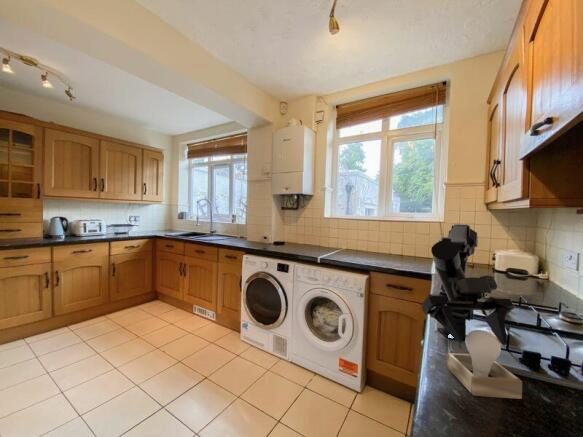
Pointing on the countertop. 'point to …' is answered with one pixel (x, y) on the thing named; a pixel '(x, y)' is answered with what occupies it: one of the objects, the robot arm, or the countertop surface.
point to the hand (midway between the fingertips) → (483, 343)
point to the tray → (484, 378)
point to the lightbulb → (482, 351)
